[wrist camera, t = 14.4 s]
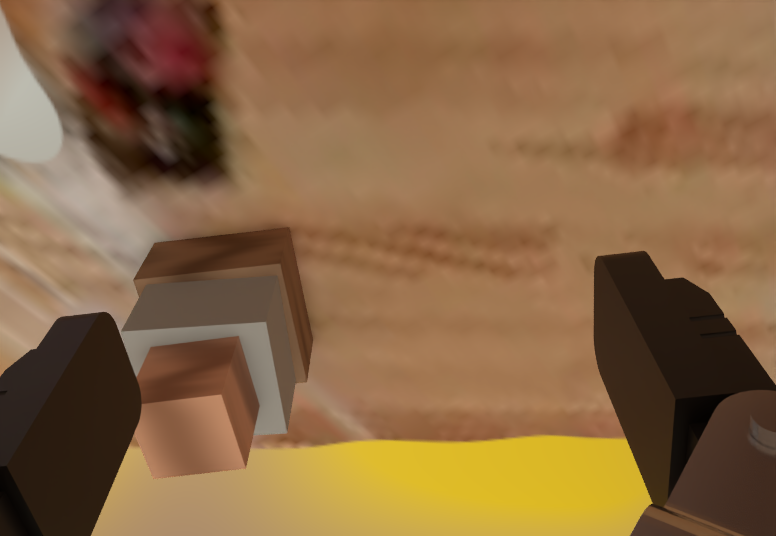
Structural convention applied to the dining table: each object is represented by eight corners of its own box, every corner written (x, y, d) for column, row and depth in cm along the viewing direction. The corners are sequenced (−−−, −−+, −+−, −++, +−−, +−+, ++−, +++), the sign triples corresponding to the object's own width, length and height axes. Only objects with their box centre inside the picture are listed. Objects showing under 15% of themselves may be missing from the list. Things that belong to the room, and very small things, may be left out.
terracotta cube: (238, 335, 41) (221, 394, 36) (259, 405, 43) (245, 468, 39) (150, 347, 41) (122, 406, 37) (176, 415, 44) (153, 478, 39)
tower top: (277, 275, 45) (265, 321, 40) (295, 380, 49) (287, 433, 44) (146, 284, 45) (120, 331, 41) (175, 388, 49) (154, 441, 45)
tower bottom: (289, 225, 49) (280, 263, 44) (313, 338, 53) (306, 382, 49) (155, 241, 49) (133, 279, 45) (190, 351, 54) (173, 395, 49)
